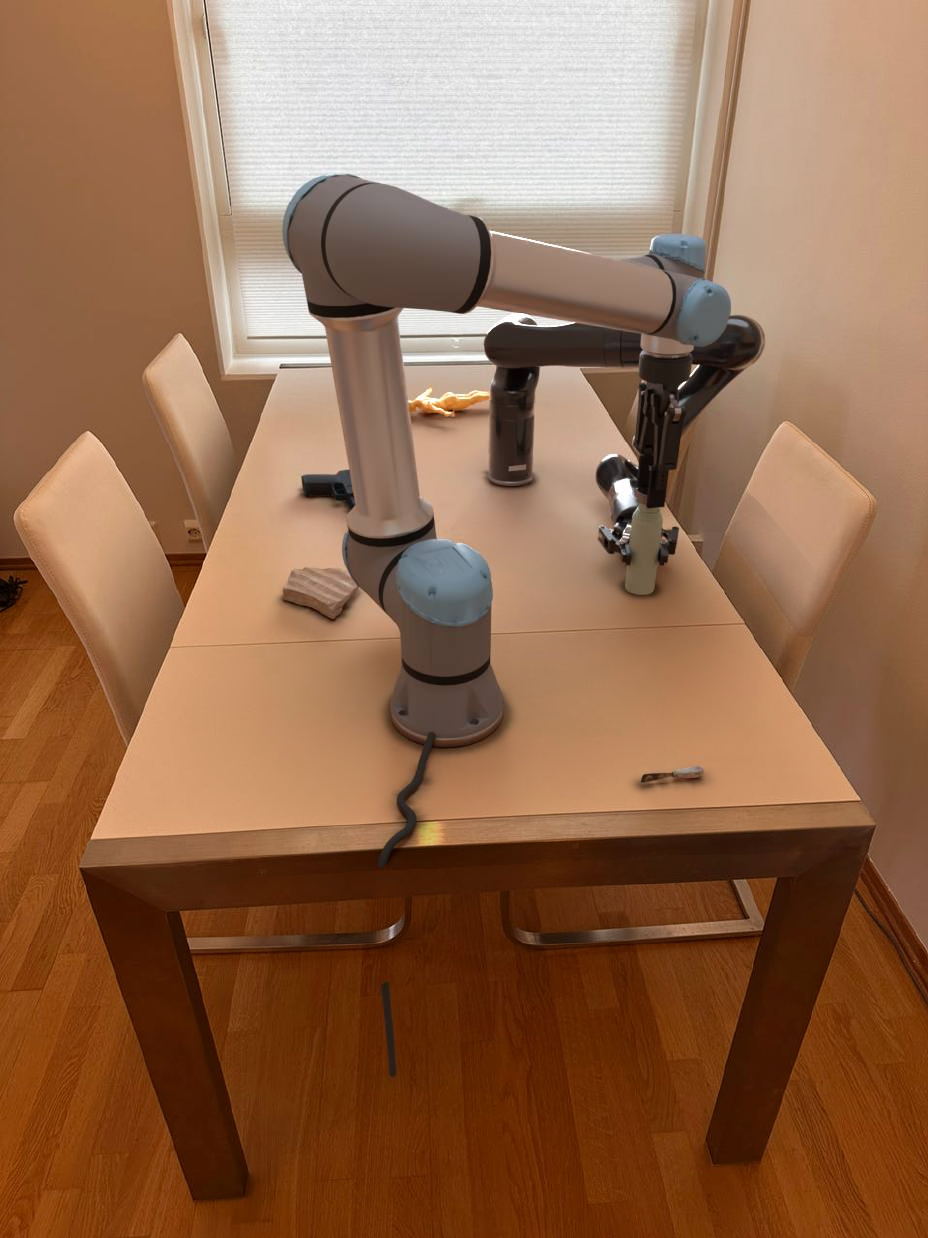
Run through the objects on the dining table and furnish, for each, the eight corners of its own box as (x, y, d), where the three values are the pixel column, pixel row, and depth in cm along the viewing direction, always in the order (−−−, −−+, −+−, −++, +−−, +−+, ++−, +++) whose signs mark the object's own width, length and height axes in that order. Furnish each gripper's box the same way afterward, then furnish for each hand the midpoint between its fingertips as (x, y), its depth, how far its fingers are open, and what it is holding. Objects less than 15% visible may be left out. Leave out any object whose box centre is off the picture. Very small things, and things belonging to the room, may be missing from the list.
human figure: (395, 413, 223) (394, 398, 221) (438, 390, 237) (438, 375, 235) (462, 429, 215) (462, 413, 213) (502, 404, 229) (503, 388, 227)
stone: (371, 585, 150) (370, 572, 149) (335, 620, 141) (334, 607, 139) (304, 572, 154) (303, 559, 153) (266, 605, 145) (264, 591, 144)
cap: (667, 504, 139) (668, 495, 138) (640, 506, 139) (641, 496, 138) (659, 493, 143) (660, 483, 142) (632, 494, 142) (633, 485, 142)
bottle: (656, 583, 151) (668, 490, 142) (651, 597, 147) (663, 502, 138) (628, 578, 152) (637, 486, 143) (622, 592, 148) (632, 498, 139)
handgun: (311, 508, 169) (373, 501, 172) (300, 472, 183) (358, 466, 186) (312, 523, 171) (374, 516, 173) (302, 487, 185) (359, 480, 188)
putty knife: (703, 777, 109) (705, 767, 109) (642, 788, 108) (644, 777, 107) (700, 772, 110) (702, 762, 109) (639, 782, 109) (640, 771, 108)
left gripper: (715, 366, 122) (693, 521, 134) (669, 334, 136) (653, 477, 149) (663, 369, 121) (645, 525, 133) (622, 337, 135) (609, 480, 148)
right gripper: (593, 495, 156) (603, 539, 142) (676, 496, 156) (693, 540, 141) (590, 533, 160) (599, 580, 146) (671, 534, 160) (687, 581, 145)
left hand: (649, 499), depth 141 cm, fingers closed on cap, 4 cm apart
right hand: (645, 560), depth 144 cm, fingers closed on bottle, 5 cm apart
